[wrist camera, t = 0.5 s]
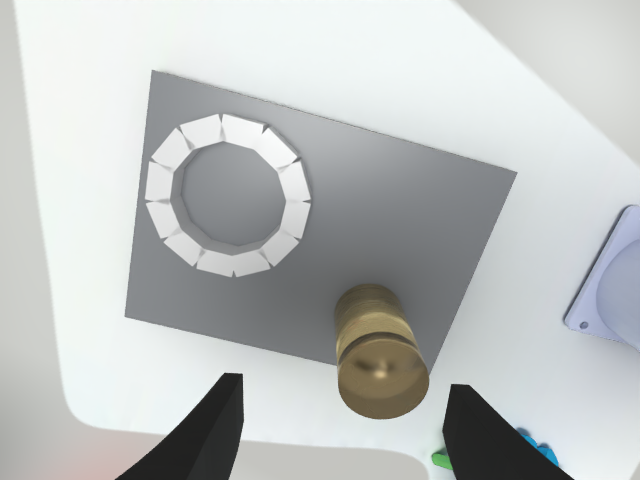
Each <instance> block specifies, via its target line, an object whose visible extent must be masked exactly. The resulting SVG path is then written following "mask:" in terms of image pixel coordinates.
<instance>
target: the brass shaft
mask: <svg viewBox="0 0 640 480" xmlns="http://www.w3.org/2000/svg"><path fill="white" fill-rule="evenodd" d="M334 315H335V333H336V351H337V370H338V387H339V392H340V395H341V397H342V399H343V401H344V402H345V404H346V405H347V406H348V407H349V408H350V409H351V410H353V411H354V412H356V413H358V414H359V415H362V416H364V417H368V418H372V419H391V418H396V417H399V416H402V415H404V414H406V413H408V412H410V411H411V410H413V409H414V408H415V407H417V406H418V405H419V404H420V403H421V401H422V400H423V399H424V397H425V395H426V393H427V390H428V387H429V374H428V370H427V367H426V365H425V363H424V360H423V358H422V355H421V353H420V350H419V348H418V345H417V343H416V340H415V338H414V335H413V333H412V330H411V328H410V326H409V323H408V321H407V318H406V316H405V313H404V311H403V308H402V306H401V303H400V301H399V299H398V298H397V296H396V295H395V294H394V293H393V292H392V291H391V290H389V289H388V288H386V287H384V286H381V285H378V284H361V285H357V286H355V287H353V288H351V289H349V290H348V291H346V292H345V293H344V294H343V295H342V296H341V297H340V299H339V300H338V302H337V304H336V307H335V314H334Z"/></svg>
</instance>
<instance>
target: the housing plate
mask: <svg viewBox="0 0 640 480" xmlns="http://www.w3.org/2000/svg"><path fill="white" fill-rule="evenodd" d="M517 173H518V172H514V171H511V170H508V169H504V168H501V167H497V166H494V165H490V164H486V163H483V162H479V161H476V160H472V159H469V158H465V157H462V156H458V155H454V154H451V153H447V152H444V151H440V150H437V149H433V148H430V147H426V146H422V145H419V144H415V143H412V142H408V141H405V140H401V139H398V138H394V137H390V136H387V135H383V134H380V133H376V132H373V131H369V130H365V129H362V128H358V127H355V126H351V125H348V124H344V123H341V122H337V121H333V120H330V119H326V118H323V117H319V116H316V115H312V114H309V113H305V112H301V111H298V110H294V109H291V108H287V107H284V106H280V105H277V104H273V103H269V102H266V101H262V100H259V99H255V98H252V97H248V96H245V95H241V94H237V93H234V92H230V91H227V90H223V89H220V88H216V87H212V86H209V85H205V84H202V83H198V82H195V81H191V80H188V79H184V78H180V77H177V76H173V75H170V74H166V73H163V72H159V71H155V70H152V74H151V83H150V92H149V101H148V110H147V119H146V128H145V137H144V146H143V155H142V164H141V173H140V182H139V191H138V200H137V209H136V218H135V227H134V236H133V245H132V254H131V263H130V272H129V282H128V291H127V300H126V309H125V317H127V318H132V319H136V320H140V321H145V322H149V323H153V324H158V325H162V326H167V327H171V328H175V329H180V330H184V331H188V332H193V333H197V334H201V335H206V336H210V337H214V338H219V339H223V340H227V341H232V342H236V343H240V344H245V345H249V346H253V347H258V348H262V349H266V350H271V351H275V352H279V353H284V354H288V355H292V356H297V357H301V358H305V359H310V360H314V361H318V362H323V363H327V364H332V365H336V366H337V351H336V333H335V315H334V314H335V307H336V304H337V302H338V300H339V299H340V297H341V296H342V295H343V294H344V293H345V292H346V291H348V290H349V289H351V288H353V287H355V286H357V285H361V284H378V285H381V286H384V287H386V288H388V289H389V290H391V291H392V292H393V293H394V294H395V295H396V296H397V298H398V299H399V301H400V303H401V306H402V308H403V311H404V313H405V316H406V318H407V321H408V323H409V326H410V328H411V330H412V333H413V335H414V338H415V340H416V343H417V345H418V348H419V350H420V353H421V355H422V358H423V360H424V363H425V365H426V367H427V370H428V374H429V375H430V372H431V370H432V368H433V365H434V363H435V361H436V359H437V356H438V354H439V352H440V349H441V347H442V345H443V343H444V340H445V338H446V336H447V333H448V331H449V329H450V326H451V324H452V322H453V320H454V317H455V315H456V313H457V310H458V308H459V306H460V304H461V301H462V299H463V297H464V294H465V292H466V290H467V287H468V285H469V283H470V281H471V278H472V276H473V274H474V271H475V269H476V267H477V265H478V262H479V260H480V258H481V255H482V253H483V251H484V249H485V246H486V244H487V242H488V239H489V237H490V235H491V232H492V230H493V228H494V226H495V223H496V221H497V219H498V216H499V214H500V212H501V210H502V207H503V205H504V203H505V200H506V198H507V196H508V193H509V191H510V189H511V187H512V184H513V182H514V180H515V177H516V175H517Z"/></svg>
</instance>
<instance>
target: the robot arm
mask: <svg viewBox="0 0 640 480" xmlns="http://www.w3.org/2000/svg"><path fill="white" fill-rule="evenodd" d="M582 322H584V323H583V324H582V325H580V324H581V323H582ZM565 325H566V326H567V327H568V328H569V329H571V330H574V331H578V332H582V333H586V334H590V335H594V336H598V337H602V338H606V339H610V340H614V341H618V342H622V343H626V344H630V345H632V346H633V347H634V348H636V349H637V350H638V351H639V352H640V207H639V206H630V207H628V208H627V209H626V210H625V211H624V212H623V214H622V216H621V218H620V220H619V222H618V223H617V225H616V227H615V229H614V231H613V233H612V234H611V236H610V238H609V240H608V242H607V243H606V245H605V247H604V249H603V251H602V253H601V254H600V256H599V258H598V260H597V262H596V264H595V265H594V267H593V269H592V271H591V273H590V275H589V276H588V278H587V280H586V282H585V284H584V286H583V287H582V289H581V291H580V293H579V295H578V297H577V298H576V300H575V302H574V304H573V306H572V308H571V309H570V311H569V313H568V315H567V317H566V319H565ZM243 422H244V409H243V374H238V373H224V374H223V375H222V376H221V377H220V378H219V380H218V381H217V382H216V383H215V385H214V386H213V387H212V388H211V389H210V391H209V392H208V393H207V394H206V395H205V397H204V398H203V399H202V400H201V401H200V402H199V403H198V404H197V406H196V407H195V408H194V409H193V410H192V411H191V412H190V413H189V414H188V415H187V416H186V418H185V419H184V420H183V421H182V422H181V423H180V424H179V425H178V426H177V427H176V428H175V429H174V430H173V431H172V432H171V433H170V434H169V435H168V436H166V437H165V438H164V439H163V440H162V441H161V442H160V443H159V444H158V445H157V446H156V447H155V448H153V449H152V450H151V451H150V452H149V453H148V454H146V455H145V456H144V457H143V458H142V459H141V460H139V461H138V462H137V463H136V464H135V465H133V466H132V467H131V468H129V469H128V470H127V471H126V472H124V473H123V474H122V475H120V476H119V477H118V478H116V479H115V480H228V479H229V477H230V474H231V470H232V467H233V464H234V461H235V458H236V455H237V451H238V447H239V442H240V437H241V432H242V427H243ZM442 431H443V435H444V440H445V444H446V448H447V452H448V456H449V460H450V463H451V466H452V468H453V471H454V474H455V477H456V479H457V480H574V479H573V478H572V477H570V476H569V475H568V474H567V473H565V472H564V471H563V470H561V469H560V468H559V467H558V466H556V465H555V464H554V463H553V462H551V461H550V460H549V459H548V458H547V457H545V456H544V455H543V454H542V453H541V452H540V451H538V450H537V449H536V448H535V447H534V446H533V445H531V444H530V443H529V442H528V441H527V440H526V439H525V438H524V437H523V436H521V435H520V434H519V433H518V432H517V431H516V430H515V429H514V428H513V427H512V426H511V425H510V424H509V423H508V422H507V421H506V420H505V419H503V418H502V417H501V416H500V415H499V414H498V413H497V412H496V411H495V410H494V409H493V408H492V407H491V406H490V405H489V404H488V403H487V402H486V401H485V400H484V399H483V398H482V397H481V396H480V395H479V394H478V393H477V392H476V391H475V390H474V389H473V388H472V387H471V386H470V385H461V384H451V389H450V394H449V399H448V404H447V409H446V414H445V420H444V425H443V430H442Z"/></svg>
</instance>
